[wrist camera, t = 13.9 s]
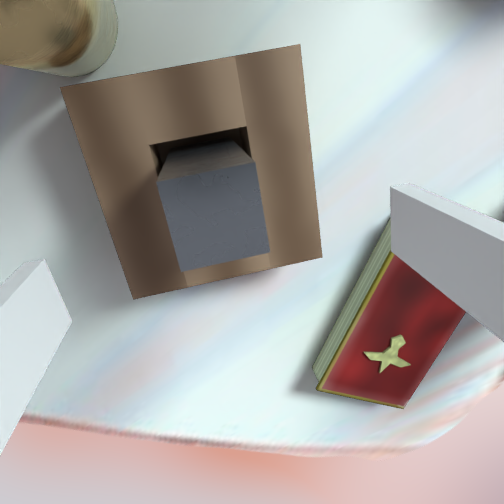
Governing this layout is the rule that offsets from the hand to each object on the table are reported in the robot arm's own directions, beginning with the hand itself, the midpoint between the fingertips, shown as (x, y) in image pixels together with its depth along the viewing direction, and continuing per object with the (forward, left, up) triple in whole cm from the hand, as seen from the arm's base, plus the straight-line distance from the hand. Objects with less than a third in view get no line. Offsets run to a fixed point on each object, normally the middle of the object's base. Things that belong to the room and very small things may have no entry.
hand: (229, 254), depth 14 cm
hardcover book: (-17, +19, -21) cm, 33 cm away
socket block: (0, 0, -21) cm, 21 cm away
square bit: (0, 0, -20) cm, 20 cm away
